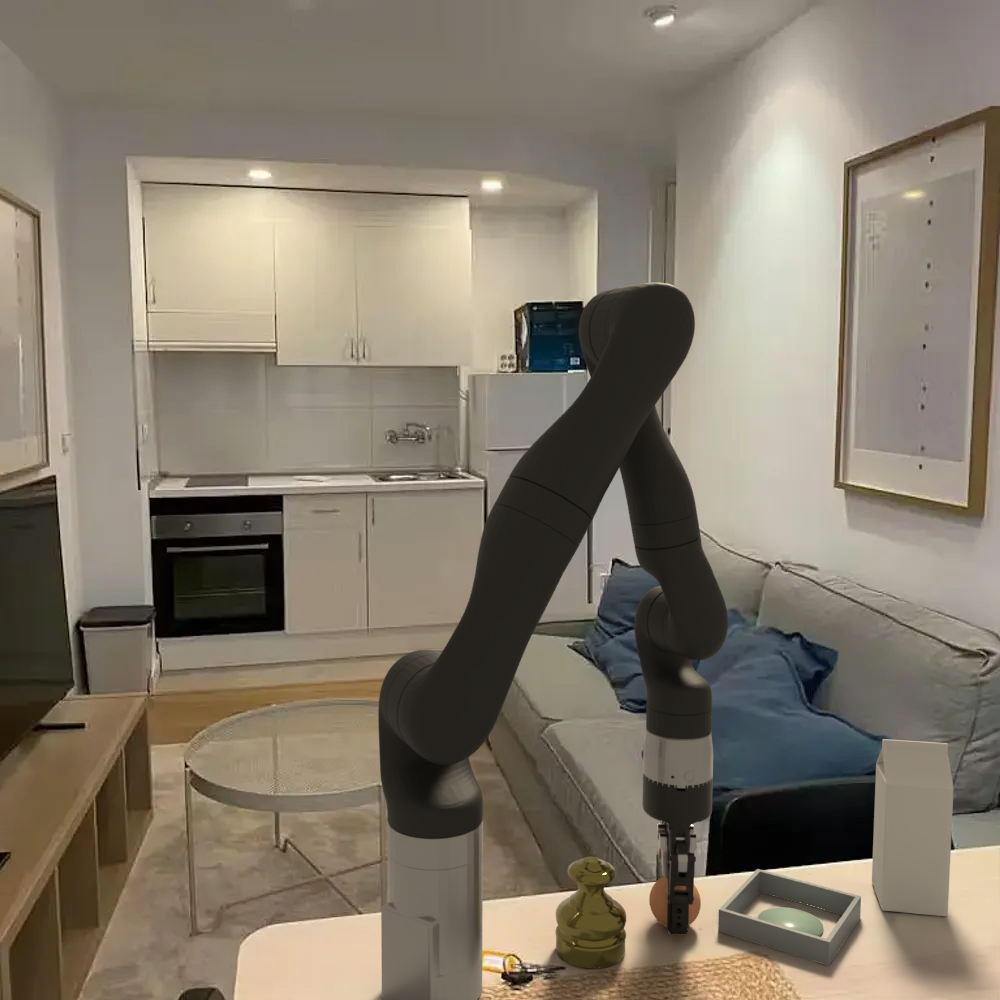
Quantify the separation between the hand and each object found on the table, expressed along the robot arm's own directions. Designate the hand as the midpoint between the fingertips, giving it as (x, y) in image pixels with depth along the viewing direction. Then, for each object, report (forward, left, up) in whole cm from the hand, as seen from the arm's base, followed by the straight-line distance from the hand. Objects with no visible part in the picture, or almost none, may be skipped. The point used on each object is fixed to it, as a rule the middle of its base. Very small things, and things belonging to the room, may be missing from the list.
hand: (674, 918), depth 112 cm
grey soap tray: (+7, -10, -1) cm, 13 cm away
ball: (0, 0, -1) cm, 1 cm away
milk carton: (+21, -20, -1) cm, 29 cm away
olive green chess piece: (-10, +5, -1) cm, 11 cm away
